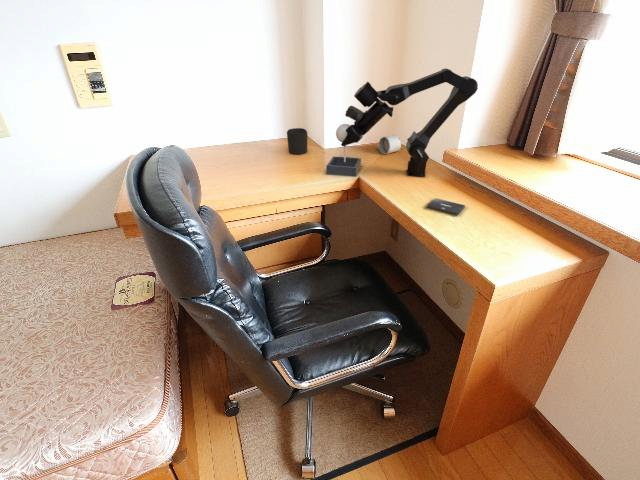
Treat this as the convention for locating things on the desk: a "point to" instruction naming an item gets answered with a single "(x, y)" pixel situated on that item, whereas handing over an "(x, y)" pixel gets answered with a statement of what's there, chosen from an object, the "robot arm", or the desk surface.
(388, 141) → the ceramic mug
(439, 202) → the solid state drive
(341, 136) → the lollipop
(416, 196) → the desk surface
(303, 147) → the pen holder
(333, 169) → the caddy
